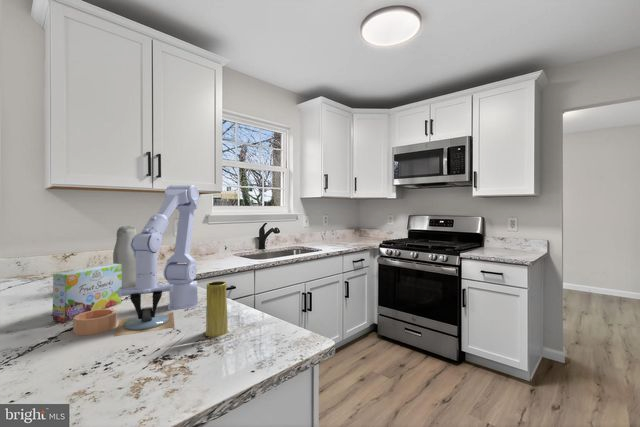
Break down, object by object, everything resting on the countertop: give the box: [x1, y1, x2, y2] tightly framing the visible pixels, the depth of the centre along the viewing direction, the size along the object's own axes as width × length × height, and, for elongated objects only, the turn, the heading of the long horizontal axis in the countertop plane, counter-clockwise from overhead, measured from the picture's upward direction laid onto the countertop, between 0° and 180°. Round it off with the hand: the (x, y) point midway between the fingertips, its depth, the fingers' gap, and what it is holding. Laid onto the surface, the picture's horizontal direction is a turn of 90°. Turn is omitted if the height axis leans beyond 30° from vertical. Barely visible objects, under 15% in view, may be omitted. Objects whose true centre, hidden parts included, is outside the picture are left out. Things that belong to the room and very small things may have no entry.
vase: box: [204, 280, 229, 338], centre depth 87 cm, size 6×6×14 cm
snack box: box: [52, 263, 122, 323], centre depth 107 cm, size 21×6×15 cm, turn 168°
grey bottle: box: [112, 225, 138, 289], centre depth 138 cm, size 10×10×28 cm
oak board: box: [113, 311, 175, 337], centre depth 95 cm, size 15×15×1 cm
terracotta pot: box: [72, 308, 118, 336], centre depth 91 cm, size 10×10×4 cm
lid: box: [123, 306, 169, 330], centre depth 95 cm, size 12×12×4 cm
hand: (146, 317), depth 95 cm, fingers closed on lid, 3 cm apart
